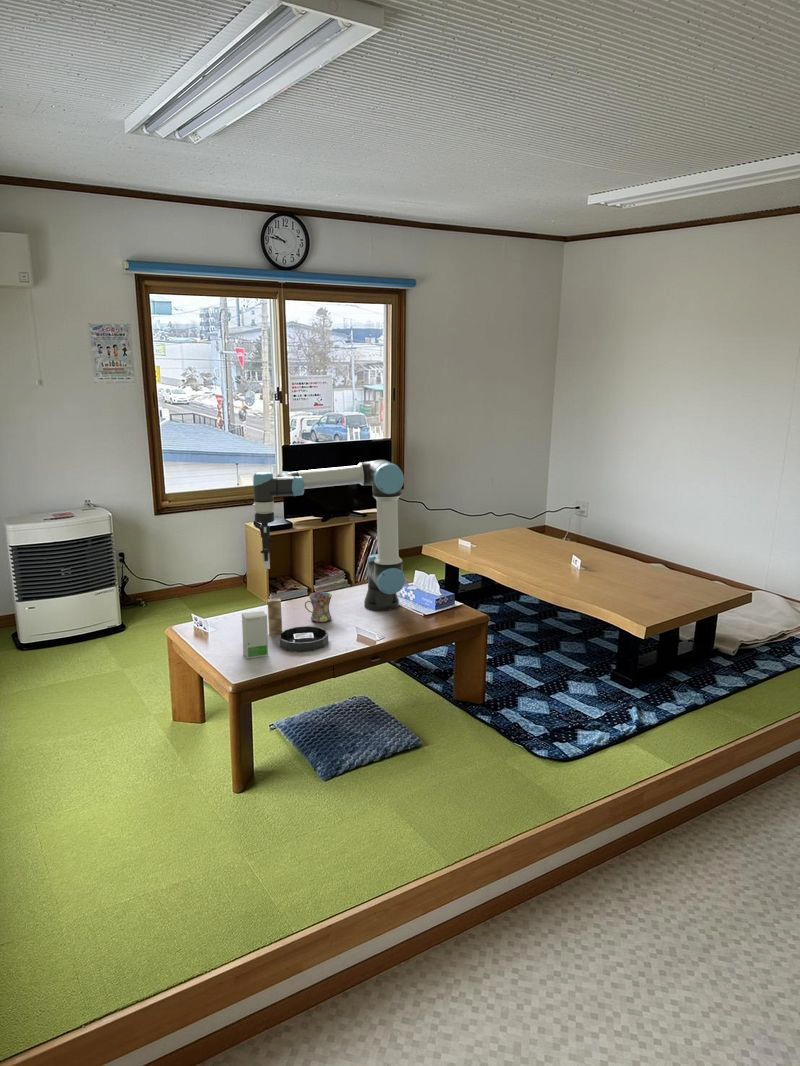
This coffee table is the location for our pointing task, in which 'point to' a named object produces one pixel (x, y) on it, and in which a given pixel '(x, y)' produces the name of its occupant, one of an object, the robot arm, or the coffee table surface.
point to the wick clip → (303, 637)
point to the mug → (320, 606)
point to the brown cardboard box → (274, 616)
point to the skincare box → (255, 634)
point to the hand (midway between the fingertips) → (266, 564)
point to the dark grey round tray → (318, 643)
